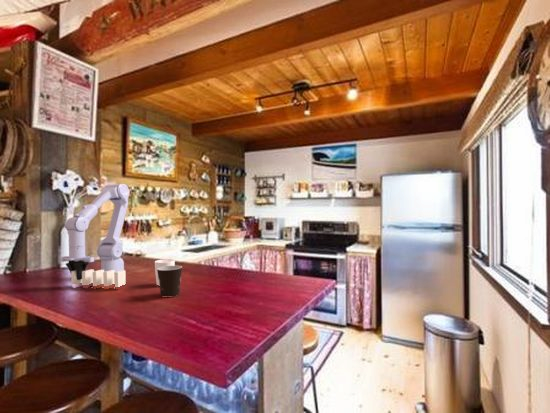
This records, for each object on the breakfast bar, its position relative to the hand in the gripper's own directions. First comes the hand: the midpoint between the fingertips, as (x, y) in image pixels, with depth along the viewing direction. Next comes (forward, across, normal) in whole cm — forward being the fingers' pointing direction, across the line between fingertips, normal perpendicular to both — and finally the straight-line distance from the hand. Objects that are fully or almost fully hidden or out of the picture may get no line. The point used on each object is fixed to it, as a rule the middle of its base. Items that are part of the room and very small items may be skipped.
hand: (77, 279), depth 126 cm
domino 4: (+3, +15, 0) cm, 15 cm away
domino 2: (+3, +5, 0) cm, 6 cm away
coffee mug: (+3, +45, -4) cm, 45 cm away
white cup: (+3, +35, +8) cm, 36 cm away
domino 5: (+3, +20, 0) cm, 20 cm away
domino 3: (+3, +10, 0) cm, 11 cm away
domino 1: (+3, 0, 0) cm, 3 cm away
